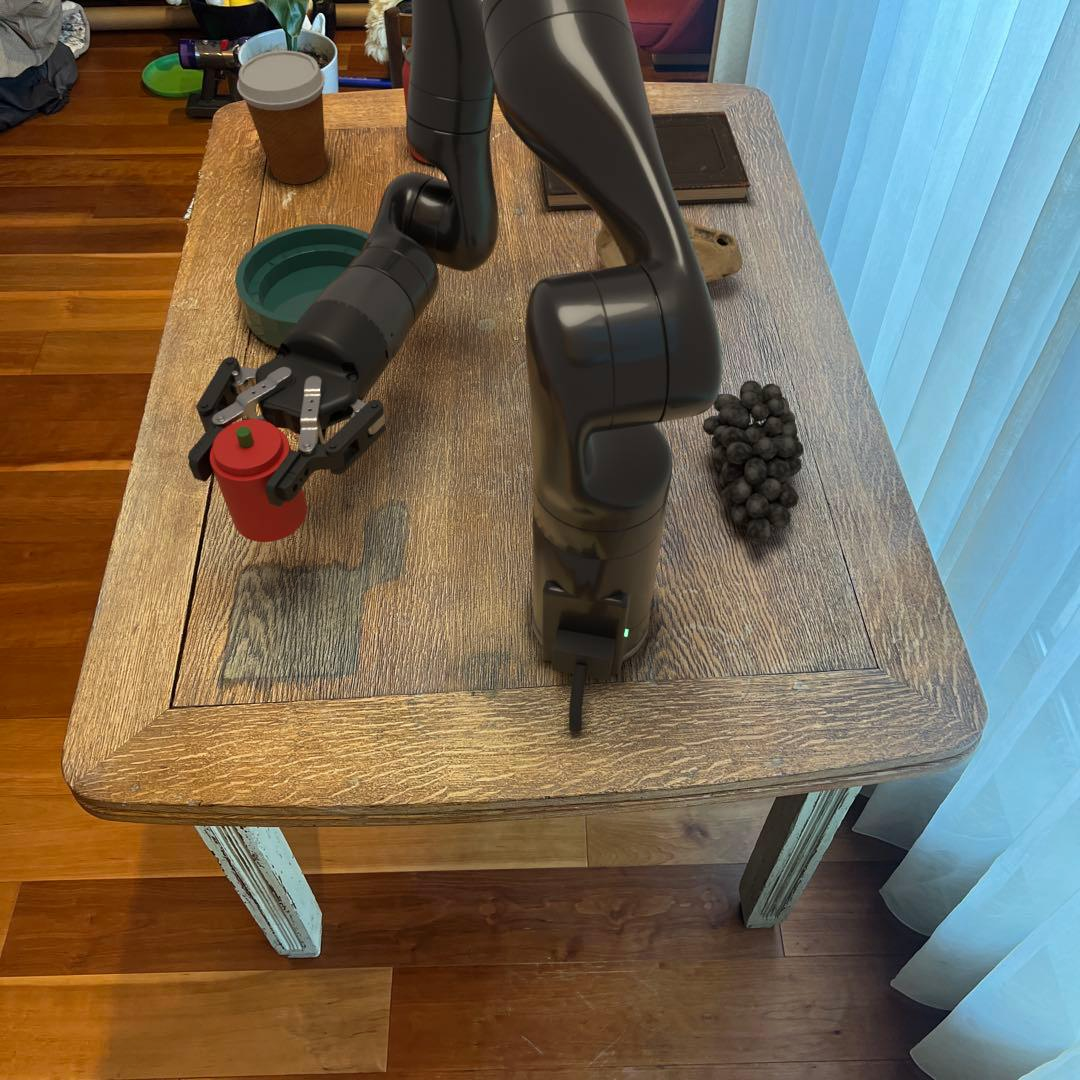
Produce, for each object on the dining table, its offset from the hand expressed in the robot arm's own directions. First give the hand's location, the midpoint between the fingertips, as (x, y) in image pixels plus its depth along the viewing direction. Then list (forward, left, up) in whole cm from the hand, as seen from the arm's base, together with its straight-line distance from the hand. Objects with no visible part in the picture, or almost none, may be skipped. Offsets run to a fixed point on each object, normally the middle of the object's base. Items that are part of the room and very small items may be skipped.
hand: (234, 484), depth 72 cm
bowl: (+36, +9, -14) cm, 39 cm away
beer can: (+66, +5, -15) cm, 67 cm away
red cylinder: (+2, 0, -6) cm, 6 cm away
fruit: (+20, -36, -15) cm, 44 cm away
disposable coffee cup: (+59, +20, -15) cm, 63 cm away
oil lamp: (+48, -25, -15) cm, 56 cm away
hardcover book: (+68, -19, -15) cm, 72 cm away
